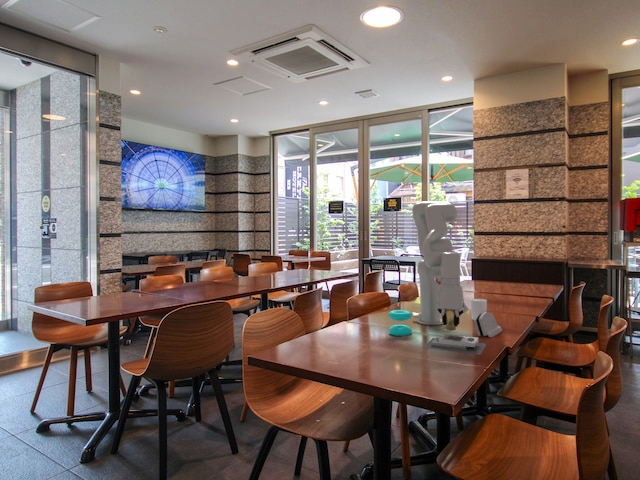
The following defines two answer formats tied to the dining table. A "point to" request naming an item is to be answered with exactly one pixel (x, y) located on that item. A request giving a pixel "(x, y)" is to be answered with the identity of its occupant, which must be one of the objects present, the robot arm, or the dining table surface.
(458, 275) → the robot arm
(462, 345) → the grey block with hole
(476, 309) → the white cup
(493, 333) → the white slotted device
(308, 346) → the dining table surface
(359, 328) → the dining table surface
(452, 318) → the brass pin
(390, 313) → the donuts
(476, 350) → the mat
